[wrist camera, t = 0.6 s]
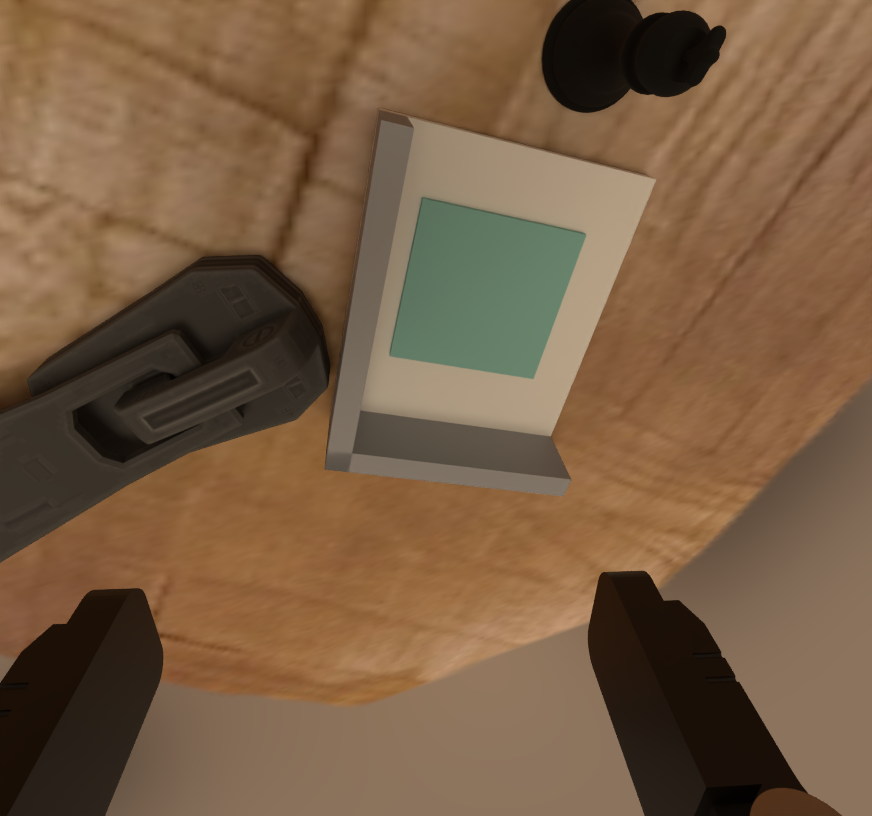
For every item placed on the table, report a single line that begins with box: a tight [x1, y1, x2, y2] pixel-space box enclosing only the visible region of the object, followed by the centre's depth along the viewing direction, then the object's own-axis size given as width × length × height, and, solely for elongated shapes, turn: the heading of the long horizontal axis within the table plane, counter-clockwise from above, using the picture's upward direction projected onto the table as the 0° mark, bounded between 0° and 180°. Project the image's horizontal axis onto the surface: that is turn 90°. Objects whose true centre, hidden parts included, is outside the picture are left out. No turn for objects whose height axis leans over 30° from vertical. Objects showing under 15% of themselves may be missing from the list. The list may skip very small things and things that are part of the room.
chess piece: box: [542, 0, 726, 113], centre depth 20 cm, size 4×4×10 cm
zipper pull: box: [0, 255, 330, 562], centre depth 28 cm, size 9×7×25 cm
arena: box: [325, 108, 656, 496], centre depth 27 cm, size 16×13×5 cm
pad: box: [390, 197, 586, 379], centre depth 28 cm, size 8×8×1 cm
